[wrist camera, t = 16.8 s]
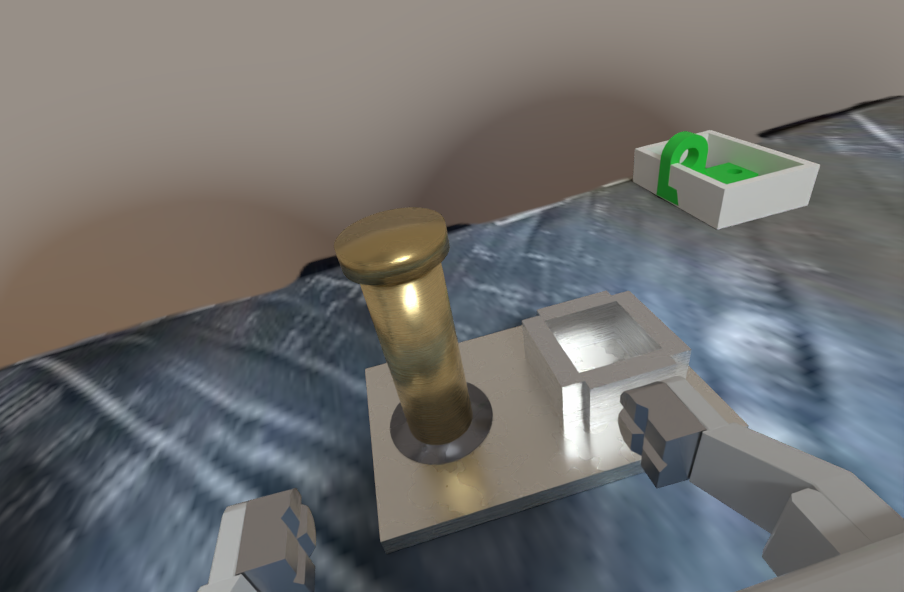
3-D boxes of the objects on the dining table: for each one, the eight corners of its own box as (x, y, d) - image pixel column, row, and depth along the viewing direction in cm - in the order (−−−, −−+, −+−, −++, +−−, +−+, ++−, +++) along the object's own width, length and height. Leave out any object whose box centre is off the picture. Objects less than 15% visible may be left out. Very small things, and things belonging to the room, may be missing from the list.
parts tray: (717, 229, 52) (724, 189, 50) (632, 181, 67) (635, 148, 64) (807, 205, 54) (820, 164, 51) (705, 163, 68) (710, 130, 66)
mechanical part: (686, 210, 57) (696, 147, 53) (656, 194, 62) (663, 136, 57) (766, 188, 59) (782, 125, 54) (730, 174, 64) (743, 116, 59)
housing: (386, 553, 28) (362, 506, 25) (369, 380, 41) (352, 335, 38) (744, 439, 30) (762, 383, 27) (619, 310, 43) (622, 262, 40)
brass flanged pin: (405, 464, 31) (333, 273, 22) (395, 399, 37) (334, 223, 28) (492, 438, 32) (456, 241, 23) (469, 377, 37) (433, 199, 28)
